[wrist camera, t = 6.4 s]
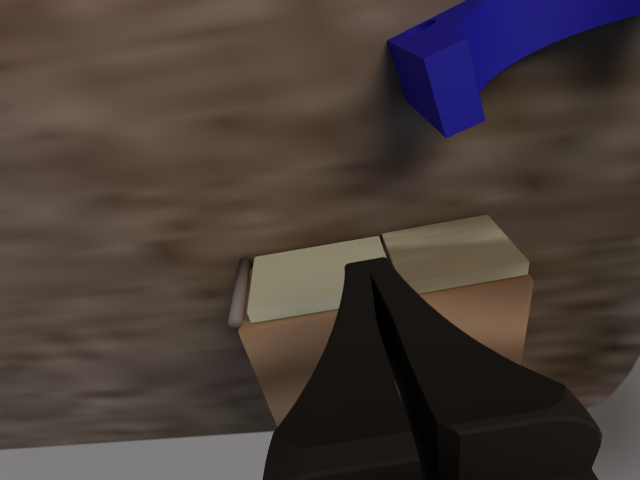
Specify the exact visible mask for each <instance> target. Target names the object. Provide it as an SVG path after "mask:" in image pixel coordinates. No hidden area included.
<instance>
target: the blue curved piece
mask: <svg viewBox="0 0 640 480" xmlns="http://www.w3.org/2000/svg"><path fill="white" fill-rule="evenodd" d="M637 15H640V0H466V1H464V2H462V3H460V4H458V5H456V6H454V7H452V8H450V9H448V10H446V11H444V12H442V13H440V14H438V15H436V16H434V17H433V18H431V19H429V20H427V21H425V22H423V23H421V24H419V25H417V26H415V27H413V28H411V29H409V30H407V31H405V32H403V33H401V34H399V35H397V36H395V37H393V38H391V39H389V40H387V41H388V44H389V47H390V51H391V54H392V57H393V60H394V63H395V66H396V69H397V72H398V75H399V78H400V81H401V84H402V88H403V91H404V94H405V97H406V100H407V102H408V103H409V104H410V105H412V106H413V107H414V108H415V109H416V110H417V111H418V112H419V113H420V114H421V115H422V116H423V117H424V118H425V119H426V120H427V121H428V122H429V123H430V124H432V125H433V126H434V127H435V128H436V129H437V130H438V131H439V132H440V133H441V134H442V135H443V136H444V137H445V138H447V137H450V136H452V135H454V134H456V133H459V132H461V131H463V130H465V129H468V128H470V127H472V126H474V125H477V124H479V123H481V122H483V121H485V117H484V113H483V108H482V104H481V99H480V94H479V93H480V92H481V90H482V89H483V87H484V86H485V85H486V84H487V83H488V82H489V81H490V80H491V79H492V78H493V77H495V76H496V75H497V74H498V73H500V72H501V71H502V70H504V69H505V68H507V67H508V66H510V65H511V64H513V63H515V62H516V61H518V60H520V59H522V58H523V57H525V56H527V55H529V54H531V53H533V52H535V51H537V50H539V49H541V48H543V47H545V46H547V45H550V44H552V43H554V42H557V41H559V40H562V39H564V38H567V37H569V36H572V35H574V34H577V33H580V32H583V31H586V30H589V29H592V28H595V27H598V26H601V25H604V24H607V23H611V22H614V21H618V20H621V19H625V18H629V17H633V16H637Z"/></svg>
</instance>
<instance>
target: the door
mask: <svg viewBox="0 0 640 480" xmlns="http://www.w3.org/2000/svg"><path fill="white" fill-rule="evenodd" d="M380 257H385V258H387V257H386V255H385V252H384V249H383V246H382V244H381V241H380V238H379V236H375V237H369V238H363V239H357V240H351V241H346V242H340V243H334V244H328V245H322V246H316V247H311V248H305V249H299V250H293V251H287V252H281V253H276V254H270V255H264V256H258V257H255V258H254V265H253V272H252V279H251V286H250V293H249V301H248V308H247V314H248V316H249V319H250V322H251V323H256V322H262V321H268V320H274V319H280V318H286V317H292V316H298V315H304V314H310V313H316V312H322V311H328V310H334V309H339V306H340V301H341V297H342V292H343V286H344V277H345V270H344V267H345V265H346V264H347V263H352V262H358V261H363V260H369V259H375V258H380ZM250 267H251V260H250V259H248V258H242V259H241V260H240V262H239V267H238V273H237V278H236V283H235V288H234V293H233V299H232V304H231V309H230V314H229V319H228V324H229V326H231V327H233V328H237V327H240V326H241V325H242V320H243V314H244V307H245V300H246V294H247V287H248V280H249V274H250Z"/></svg>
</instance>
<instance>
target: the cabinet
mask: <svg viewBox="0 0 640 480" xmlns="http://www.w3.org/2000/svg"><path fill="white" fill-rule="evenodd" d="M382 240H383V245H382V246H383V249H384V252H385V255H386V257H387V259H388V260H389V262H390V263H391V264H392V266H393V267H394V268H395V269H396V271H397V272H398V273H399V274H400V275H401V276H402V278H403V279H404V280H405V281H406V282H407V283H408V284H409V285H410V286H411V287H412V288H413V289H414V290H415V291H416V292H417V293H418V294H419V295H420V296H421V297H422V298H423V299H424V300H425V301H426V302H427V303H428V304H429V305H431V306H432V307H433V308H434V309H435V310H436V311H437V312H439V313H440V314H441V315H442V316H443V317H445V318H446V319H447V320H449V321H450V322H451V323H452V324H454V325H455V326H457V327H458V328H459V329H461V330H462V331H463V332H465V333H466V334H468V335H469V336H471V337H472V338H474V339H475V340H477V341H478V342H480V343H482V344H483V345H485V346H487V347H488V348H490V349H492V350H493V351H495V352H497V353H498V354H500V355H502V356H504V357H506V358H508V359H509V360H511V361H513V362H515V363H517V364H519V365H521V360H522V354H523V347H524V341H525V335H526V329H527V322H528V316H529V310H530V304H531V298H532V291H533V285H534V280H533V279H532V278H531V276H530V275H529V274H528V268H529V261H528V260H527V259H526V258H525V256H524V255H523V254H522V253H521V252H520V251H519V250H518V249H517V247H516V246H515V245H514V244H513V243H512V242H511V241H510V239H509V238H508V237H507V236H506V235H505V234H504V233H503V232H502V230H501V229H500V228H499V227H498V226H497V225H496V224H495V223H494V221H493V220H492V219H491V218H490V217H489V216H488V215H482V216H476V217H471V218H465V219H460V220H454V221H449V222H443V223H438V224H432V225H427V226H421V227H416V228H410V229H405V230H399V231H394V232H388V233H383V234H382ZM252 272H253V268H251V269H250V274H249V280H248V287H247V294H246V300H245V307H244V314H243V320H242V325H241V326H240V327H239V331H238V333H239V336H240V338H241V340H242V343H243V345H244V348H245V350H246V352H247V355H248V357H249V360H250V362H251V365H252V367H253V369H254V372H255V374H256V377H257V379H258V381H259V384H260V386H261V389H262V391H263V394H264V396H265V398H266V401H267V403H268V406H269V408H270V410H271V413H272V415H273V418H274V420H275V423H276V425H277V427H278V426H279V425H280V423H281V422H282V420H283V419H284V418H285V416H286V415H287V414H288V412H289V411H290V410H291V408H292V407H293V405H294V404H295V402H296V401H297V399H298V397H299V396H300V394H301V392H302V391H303V389H304V388H305V386H306V384H307V383H308V381H309V379H310V378H311V376H312V374H313V372H314V370H315V368H316V366H317V364H318V362H319V360H320V358H321V356H322V354H323V352H324V349H325V347H326V344H327V342H328V340H329V337H330V334H331V332H332V329H333V326H334V323H335V319H336V316H337V313H338V310H339V309H334V310H328V311H322V312H316V313H310V314H304V315H298V316H292V317H286V318H280V319H274V320H268V321H262V322H256V323H251V322H250V319H249V316H248V314H247V308H248V301H249V293H250V286H251V279H252ZM395 384H396V383H395ZM396 387H397V386H396ZM397 390H398V389H397ZM398 393H399V391H398ZM399 396H400V394H399ZM400 399H401V398H400Z"/></svg>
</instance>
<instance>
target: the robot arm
mask: <svg viewBox="0 0 640 480" xmlns="http://www.w3.org/2000/svg"><path fill="white" fill-rule="evenodd" d="M344 270H345V277H344V286H343V292H342V297H341V301H340V306H339V310H338V313H337V316H336V319H335V323H334V326H333V329H332V332H331V334H330V337H329V340H328V342H327V344H326V347H325V349H324V352H323V354H322V356H321V358H320V360H319V362H318V364H317V366H316V368H315V370H314V372H313V374H312V376H311V378H310V379H309V381H308V383H307V384H306V386H305V388H304V389H303V391H302V392H301V394H300V396H299V397H298V399H297V401H296V402H295V404H294V405H293V407H292V408H291V410H290V411H289V412H288V414H287V415H286V416H285V418H284V419H283V420H282V422H281V423H280V425H279V426H278V427H277V429H276V430H275V431H274V433H273V436H272V439H271V443H270V446H269V450H268V454H267V458H266V464H265V469H264V475H263V480H598V478H597V477H596V475H595V474H594V472H593V471H592V466H593V463H594V461H595V458H596V456H597V453H598V451H599V448H600V445H601V439H602V434H601V431H600V429H599V427H598V425H597V424H596V422H595V421H594V420H593V418H592V417H591V415H590V414H589V413H588V411H587V410H586V409H585V408H584V406H583V405H582V404H581V403H580V402H579V400H578V399H577V398H576V397H575V396H574V395H573V394H572V393H571V392H570V390H569V389H568V388H567V387H566V386H565V385H563V384H561V383H559V382H556V381H554V380H552V379H550V378H547V377H545V376H543V375H541V374H538V373H536V372H534V371H532V370H529V369H527V368H525V367H523V366H521V365H519V364H517V363H515V362H513V361H511V360H509V359H508V358H506V357H504V356H502V355H500V354H498V353H497V352H495V351H493V350H492V349H490V348H488V347H487V346H485V345H483V344H482V343H480V342H478V341H477V340H475V339H474V338H472V337H471V336H469V335H468V334H466V333H465V332H463V331H462V330H461V329H459V328H458V327H457V326H455V325H454V324H452V323H451V322H450V321H449V320H447V319H446V318H445V317H443V316H442V315H441V314H440V313H439V312H437V311H436V310H435V309H434V308H433V307H432V306H431V305H429V304H428V303H427V302H426V301H425V300H424V299H423V298H422V297H421V296H420V295H419V294H418V293H417V292H416V291H415V290H414V289H413V288H412V287H411V286H410V285H409V284H408V283H407V282H406V281H405V280H404V279H403V278H402V276H401V275H400V274H399V273H398V272H397V271H396V269H395V268H394V267H393V266H392V264H391V263H390V262H389V260H388V259H387V258H385V257H380V258H375V259H369V260H363V261H358V262H352V263H347V264H346V265H345V267H344ZM395 383H396V384H395ZM396 386H397V387H396ZM397 389H398V390H397ZM398 391H399V393H398ZM399 394H400V396H399ZM400 398H401V399H400Z"/></svg>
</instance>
